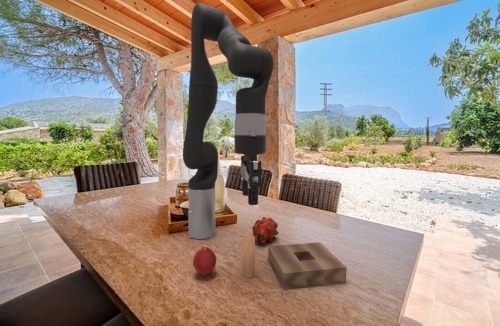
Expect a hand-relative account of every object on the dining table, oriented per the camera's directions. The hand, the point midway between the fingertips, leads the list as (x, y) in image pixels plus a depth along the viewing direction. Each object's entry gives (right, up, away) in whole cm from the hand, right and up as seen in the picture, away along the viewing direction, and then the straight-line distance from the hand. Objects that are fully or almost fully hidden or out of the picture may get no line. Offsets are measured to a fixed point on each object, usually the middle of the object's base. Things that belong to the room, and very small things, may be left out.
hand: (249, 199), depth 60 cm
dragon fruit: (+5, -18, +22) cm, 29 cm away
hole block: (+14, -20, +5) cm, 25 cm away
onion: (-11, -20, +2) cm, 23 cm away
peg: (0, -20, +2) cm, 20 cm away
